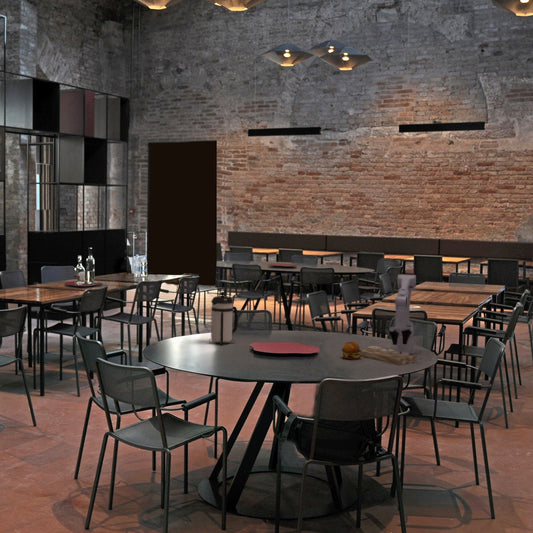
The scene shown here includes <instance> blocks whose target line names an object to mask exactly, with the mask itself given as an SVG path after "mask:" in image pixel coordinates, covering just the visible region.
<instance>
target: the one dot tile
mask: <svg viewBox="0 0 533 533" xmlns="http://www.w3.org/2000/svg"><path fill="white" fill-rule="evenodd" d="M366 349H367V350H368V351H372V352H379V350H381V349H383V347H381V346H377V345H372V346H367V347H366Z"/></svg>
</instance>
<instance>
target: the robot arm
mask: <svg viewBox="0 0 533 533" xmlns="http://www.w3.org/2000/svg"><path fill="white" fill-rule="evenodd" d="M416 282H417V276H416V275H415V274H400V273H399V274H398V275H397V287H398V291H397V296H396V297H395V301H394V305H395V323H394V324H395V325H394V326H391V327H389V330H388V333H389V335H390V337H391V338H390V339H391V340H392V345H394V346H396V350H395V352H399V351H401V352H406V353H409V355H413V354H416V352H415V339H414V338H413V337H414V331H415V329H414V323H413V322H412V321H411V320H410V308H411V295H412V292H413V291H415V290H416V287H417V286H416V284H417V283H416Z"/></svg>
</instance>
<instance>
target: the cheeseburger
mask: <svg viewBox="0 0 533 533" xmlns="http://www.w3.org/2000/svg"><path fill="white" fill-rule="evenodd" d="M362 350H363V349H361V348H360V345H359V344H358V343H357V342H356V341H348V342H346V343H344V345H343V347H342V349H341V352H342V356H343V358H345V359H347V360H358V359H360V358H361V357H362V356H361V351H362Z"/></svg>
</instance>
